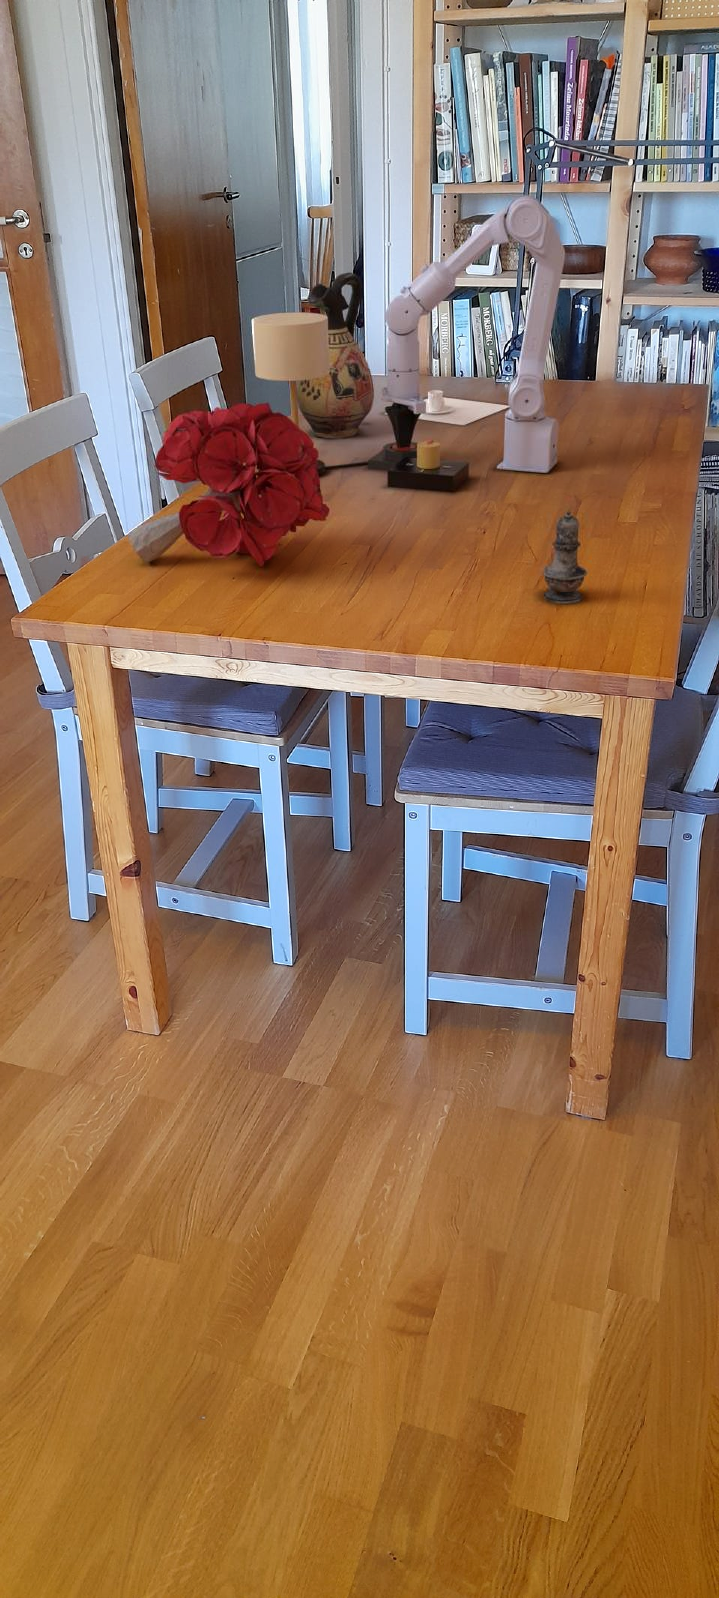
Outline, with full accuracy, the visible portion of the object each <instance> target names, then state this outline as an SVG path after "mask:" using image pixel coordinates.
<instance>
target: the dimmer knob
mask: <svg viewBox="0 0 719 1598" xmlns="http://www.w3.org/2000/svg"><path fill="white" fill-rule="evenodd" d="M417 443H418V444H417V467H419V468H422V469H434V468H438V467H439V466H440V460H441V443H440V442H438V441H435V440H434V439H429V440H424V441H420V442H417Z"/></svg>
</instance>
